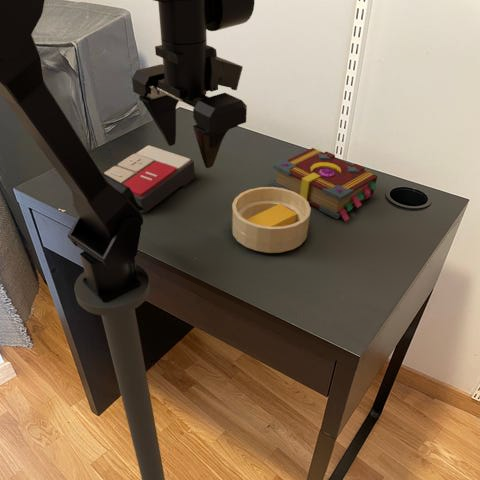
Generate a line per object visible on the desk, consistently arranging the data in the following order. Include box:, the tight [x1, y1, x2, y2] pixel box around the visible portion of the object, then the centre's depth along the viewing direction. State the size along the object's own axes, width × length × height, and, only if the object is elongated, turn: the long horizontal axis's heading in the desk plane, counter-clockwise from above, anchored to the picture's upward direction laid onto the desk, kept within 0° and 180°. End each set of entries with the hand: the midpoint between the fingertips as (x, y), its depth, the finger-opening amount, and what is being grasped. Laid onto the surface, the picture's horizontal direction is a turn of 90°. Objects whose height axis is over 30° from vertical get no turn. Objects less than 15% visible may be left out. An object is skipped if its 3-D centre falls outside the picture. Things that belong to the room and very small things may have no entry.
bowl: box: [231, 186, 312, 254], centre depth 77 cm, size 12×12×5 cm
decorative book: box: [271, 147, 378, 222], centre depth 86 cm, size 11×16×5 cm
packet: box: [246, 204, 297, 227], centre depth 77 cm, size 8×4×2 cm, turn 131°
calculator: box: [103, 144, 196, 214], centre depth 87 cm, size 11×4×15 cm
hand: (189, 155), depth 72 cm, fingers open, 9 cm apart
